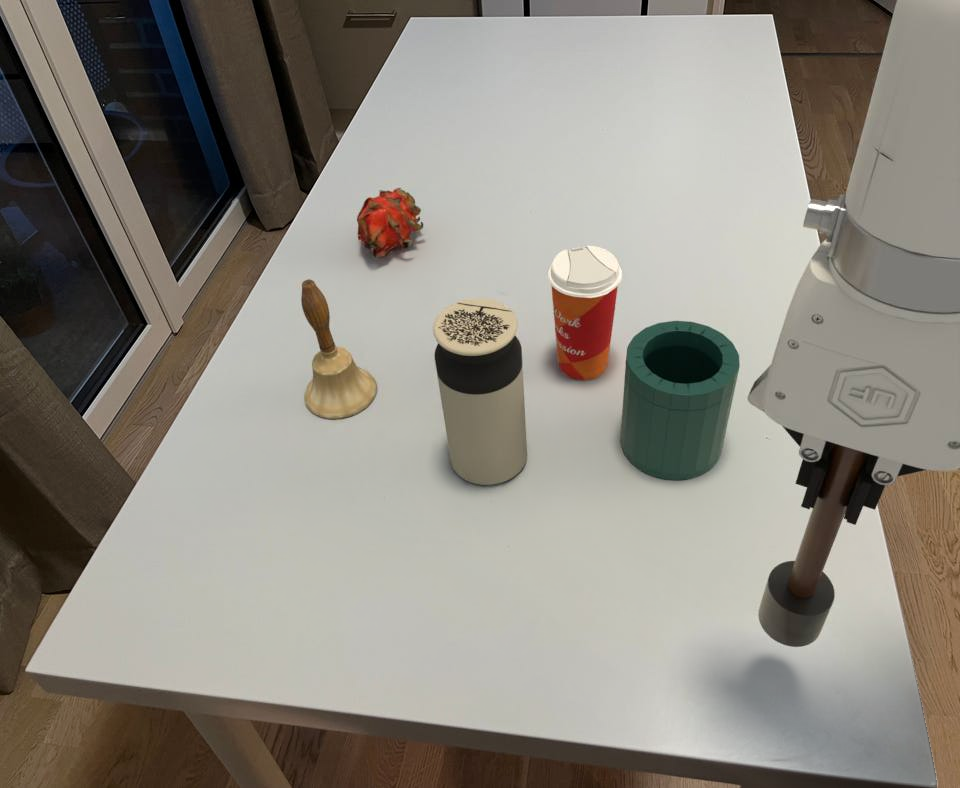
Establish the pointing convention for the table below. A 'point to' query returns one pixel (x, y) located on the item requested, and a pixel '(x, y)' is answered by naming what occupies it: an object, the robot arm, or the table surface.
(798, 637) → the peg on round base
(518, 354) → the travel mug
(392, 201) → the dragon fruit
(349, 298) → the table surface
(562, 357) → the paper cup
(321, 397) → the hand bell
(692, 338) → the jar
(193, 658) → the table surface
